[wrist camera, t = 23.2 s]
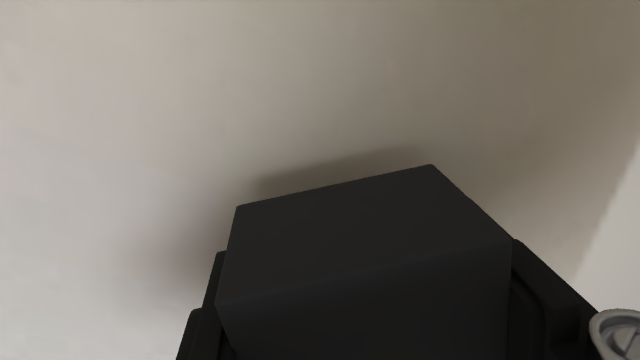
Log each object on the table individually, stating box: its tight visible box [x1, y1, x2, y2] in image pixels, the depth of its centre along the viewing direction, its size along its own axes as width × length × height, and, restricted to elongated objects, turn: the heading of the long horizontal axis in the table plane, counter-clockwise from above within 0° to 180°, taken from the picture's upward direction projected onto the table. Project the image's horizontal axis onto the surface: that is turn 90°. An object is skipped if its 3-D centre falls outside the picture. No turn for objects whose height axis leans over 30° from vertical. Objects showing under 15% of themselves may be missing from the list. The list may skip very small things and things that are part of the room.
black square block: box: [214, 164, 512, 360], centre depth 8 cm, size 5×5×4 cm
